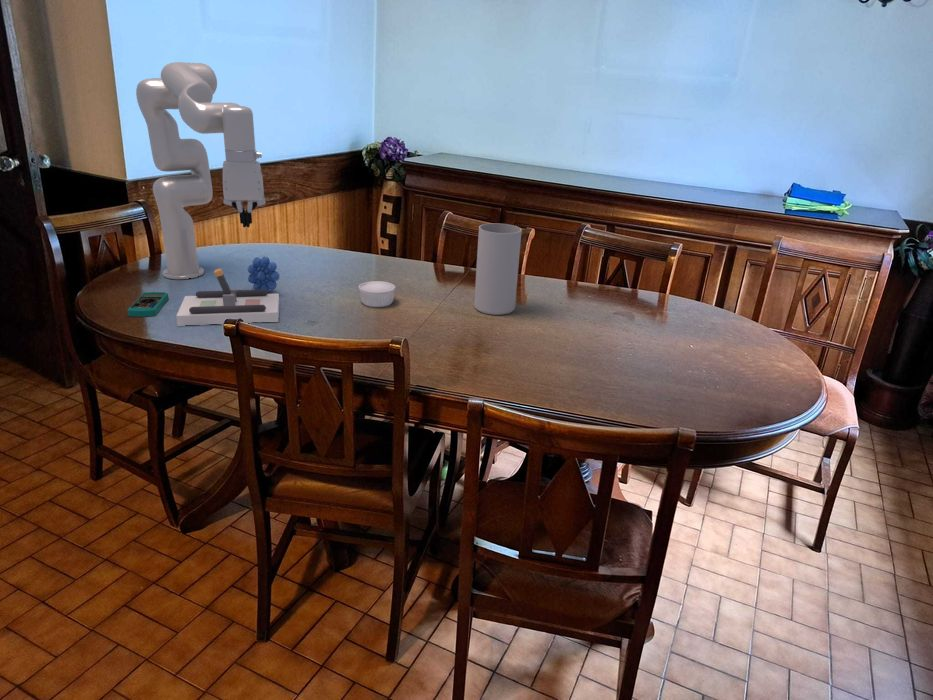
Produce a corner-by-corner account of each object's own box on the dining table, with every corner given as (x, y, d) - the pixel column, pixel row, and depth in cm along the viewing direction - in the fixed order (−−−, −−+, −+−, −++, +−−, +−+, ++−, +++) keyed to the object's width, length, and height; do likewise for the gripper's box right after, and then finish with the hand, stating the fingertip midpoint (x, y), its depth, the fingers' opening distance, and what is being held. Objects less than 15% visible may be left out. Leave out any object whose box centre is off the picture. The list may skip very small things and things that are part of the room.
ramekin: (365, 295, 206) (365, 279, 203) (399, 298, 204) (399, 282, 202) (353, 306, 195) (353, 289, 193) (389, 310, 194) (389, 293, 192)
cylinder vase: (468, 311, 196) (473, 229, 186) (481, 299, 207) (486, 221, 197) (507, 318, 193) (514, 235, 183) (519, 305, 204) (526, 226, 193)
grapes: (288, 292, 203) (286, 255, 199) (275, 298, 198) (272, 260, 193) (258, 286, 207) (255, 249, 202) (244, 292, 202) (240, 254, 197)
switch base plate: (186, 305, 188) (183, 284, 186) (279, 302, 195) (278, 282, 192) (177, 326, 174) (174, 303, 172) (278, 322, 180) (276, 300, 178)
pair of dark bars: (196, 296, 187) (195, 290, 187) (267, 294, 192) (267, 288, 191) (189, 314, 174) (188, 308, 174) (265, 312, 179) (265, 305, 178)
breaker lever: (227, 300, 184) (213, 270, 180) (236, 298, 184) (222, 267, 180) (226, 304, 182) (212, 273, 177) (235, 301, 182) (221, 270, 177)
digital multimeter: (127, 318, 179) (125, 308, 177) (143, 300, 192) (142, 290, 191) (155, 318, 180) (154, 308, 179) (169, 300, 193) (168, 291, 192)
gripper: (271, 155, 174) (275, 223, 182) (211, 153, 171) (218, 223, 178) (270, 159, 168) (274, 229, 175) (208, 158, 164) (216, 229, 171)
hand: (246, 226), depth 176 cm, fingers closed
